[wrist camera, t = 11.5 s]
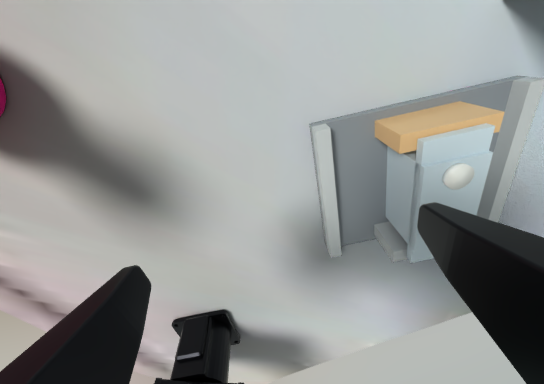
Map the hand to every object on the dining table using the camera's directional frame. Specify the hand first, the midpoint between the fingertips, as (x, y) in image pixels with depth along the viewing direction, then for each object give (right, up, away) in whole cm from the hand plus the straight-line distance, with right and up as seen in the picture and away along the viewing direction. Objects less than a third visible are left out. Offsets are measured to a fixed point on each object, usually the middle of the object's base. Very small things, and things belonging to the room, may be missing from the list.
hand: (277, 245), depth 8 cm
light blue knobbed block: (+11, +3, +12) cm, 17 cm away
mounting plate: (+11, +3, +13) cm, 17 cm away
